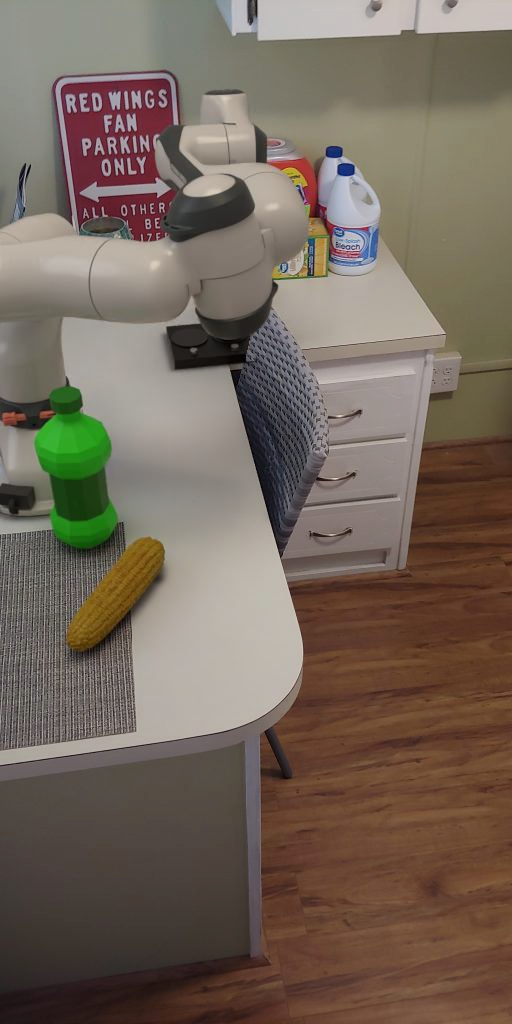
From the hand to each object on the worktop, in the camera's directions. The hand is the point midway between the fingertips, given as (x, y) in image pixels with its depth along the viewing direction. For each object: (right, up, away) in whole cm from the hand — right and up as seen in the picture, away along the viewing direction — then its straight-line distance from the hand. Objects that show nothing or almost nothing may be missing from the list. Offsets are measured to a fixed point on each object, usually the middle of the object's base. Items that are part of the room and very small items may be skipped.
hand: (227, 258), depth 174 cm
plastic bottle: (-20, -52, -35) cm, 66 cm away
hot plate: (-4, -15, +10) cm, 18 cm away
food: (-13, -61, -47) cm, 78 cm away
